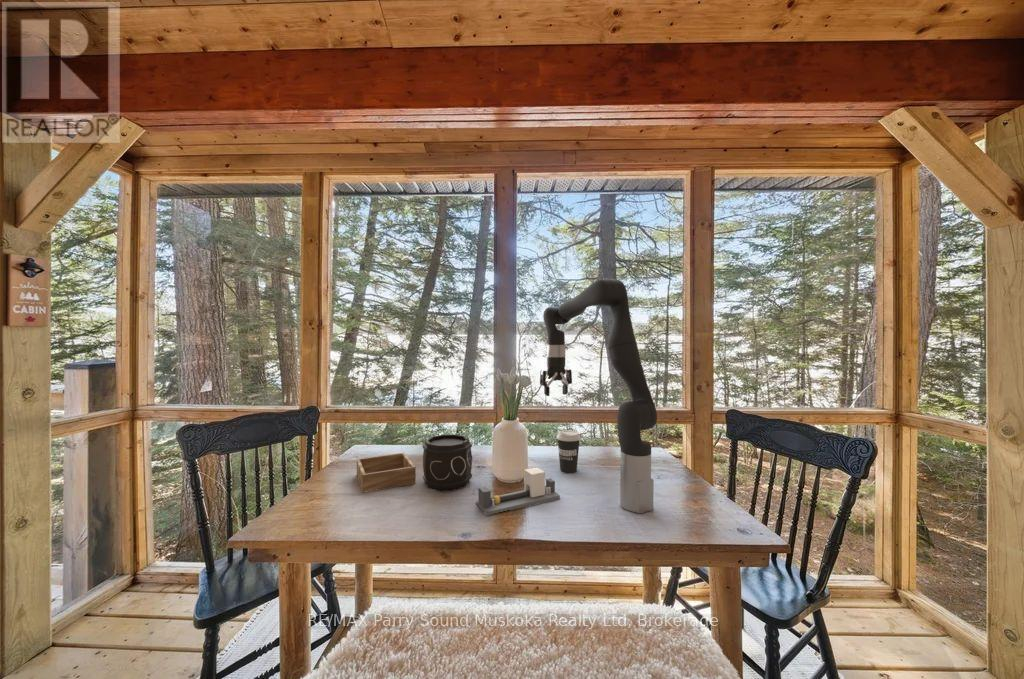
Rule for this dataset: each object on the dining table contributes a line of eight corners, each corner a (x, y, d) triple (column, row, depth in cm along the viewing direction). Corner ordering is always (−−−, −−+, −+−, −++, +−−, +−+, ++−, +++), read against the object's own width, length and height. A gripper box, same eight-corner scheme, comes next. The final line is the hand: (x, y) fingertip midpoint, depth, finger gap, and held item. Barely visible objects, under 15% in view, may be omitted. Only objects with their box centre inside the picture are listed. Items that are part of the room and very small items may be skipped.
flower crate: (415, 483, 143) (415, 466, 143) (362, 492, 135) (362, 475, 135) (404, 467, 160) (404, 452, 160) (356, 474, 152) (356, 459, 152)
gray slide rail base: (545, 489, 138) (545, 471, 138) (559, 498, 130) (559, 480, 130) (475, 504, 126) (475, 484, 126) (486, 515, 118) (486, 495, 118)
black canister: (479, 487, 139) (479, 443, 139) (428, 495, 133) (427, 449, 132) (466, 471, 156) (466, 431, 156) (419, 477, 149) (419, 435, 149)
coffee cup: (551, 468, 159) (551, 431, 159) (571, 465, 163) (572, 428, 163) (564, 476, 150) (564, 437, 150) (585, 472, 154) (585, 434, 154)
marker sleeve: (537, 489, 134) (537, 467, 134) (545, 494, 130) (545, 472, 130) (524, 492, 132) (524, 469, 132) (531, 497, 128) (531, 474, 127)
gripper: (546, 356, 156) (546, 397, 156) (575, 355, 163) (575, 395, 163) (536, 355, 163) (536, 395, 163) (565, 354, 169) (565, 392, 170)
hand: (556, 395), depth 163 cm, fingers open, 8 cm apart
